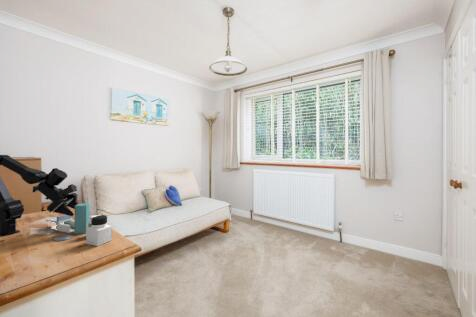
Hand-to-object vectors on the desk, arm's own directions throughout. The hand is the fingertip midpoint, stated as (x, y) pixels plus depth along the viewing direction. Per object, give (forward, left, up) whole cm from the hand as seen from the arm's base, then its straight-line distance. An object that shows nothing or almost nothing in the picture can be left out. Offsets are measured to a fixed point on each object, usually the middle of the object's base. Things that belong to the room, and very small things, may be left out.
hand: (77, 212), depth 110 cm
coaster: (+2, -8, -10) cm, 13 cm away
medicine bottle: (+21, -5, -10) cm, 24 cm away
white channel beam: (-10, +1, -10) cm, 14 cm away
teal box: (+2, +1, -10) cm, 10 cm away
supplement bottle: (+12, 0, -10) cm, 15 cm away
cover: (-15, +1, -6) cm, 17 cm away
